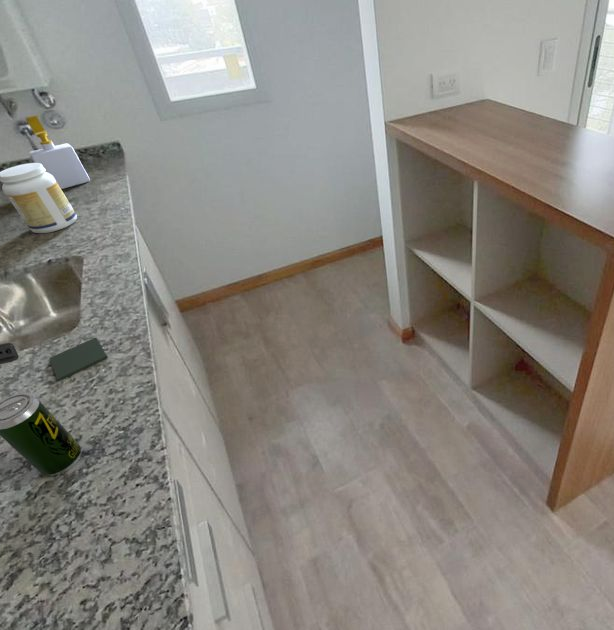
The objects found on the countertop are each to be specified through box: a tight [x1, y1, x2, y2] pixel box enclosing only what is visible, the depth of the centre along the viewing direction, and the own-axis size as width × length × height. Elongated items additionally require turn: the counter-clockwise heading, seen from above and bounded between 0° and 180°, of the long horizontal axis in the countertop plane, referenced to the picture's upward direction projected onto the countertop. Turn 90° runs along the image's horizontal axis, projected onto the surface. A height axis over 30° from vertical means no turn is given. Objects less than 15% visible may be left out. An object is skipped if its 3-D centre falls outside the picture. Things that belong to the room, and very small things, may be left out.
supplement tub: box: [0, 162, 78, 234], centre depth 126 cm, size 12×12×17 cm
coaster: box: [48, 336, 109, 382], centre depth 82 cm, size 8×8×1 cm
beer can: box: [0, 392, 82, 477], centre depth 60 cm, size 5×5×12 cm
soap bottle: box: [25, 114, 91, 190], centre depth 152 cm, size 12×7×23 cm, turn 134°
